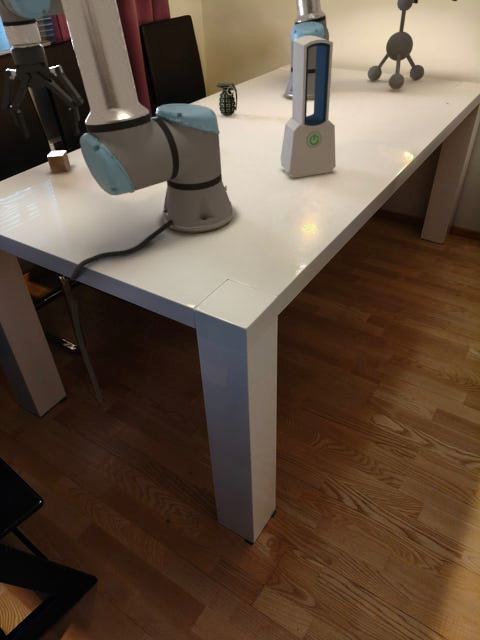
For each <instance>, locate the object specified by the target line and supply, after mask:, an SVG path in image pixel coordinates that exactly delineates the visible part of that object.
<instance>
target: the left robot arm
mask: <svg viewBox="0 0 480 640" xmlns="http://www.w3.org/2000/svg"><path fill="white" fill-rule="evenodd" d="M56 15H64V17H65V20H66V25H67V28H68V31H69V36H70V39H71V43H72V47H73V50H74V54H75V58H76V61H77V65H78V68H79V72H80V76H81V79H82V83H83V87H84V91H85V94H86V99H87V102H88V105H89V113H88V115H87V117H86V118H85V121H84V123H85V124H84V125H85V127H86V131H87V132H85V133H83V135H81V136H80V138H79V145H80V151H81V155H82V157H83V160H84V163H85V165H86V166H87V169H88V171H89V173H90V174H91V176H92V178H93V180H94V181H95V182H96V184H97V185H98V187H100V189H101V190H103V191H104V192H105V193H106V194H108V195H110V196H120V195H124V194H133V193H135V192H136V191H139V190H142V189H145V188H148V187H152V186H155V185H159V184H161V183H162V184H163V183H165V182H166V190H165V191H166V192H165V196H164V203H163V207H162V218H163V222H164V224H162V225H161V226H160V227H159V228H157V229H156V230H155V231H153V232H152V233H150V234H149V235H148V236H147V237H145V238H144V239H143V240H142V241H141V242H140V243H138V244H137V245H135V246H132V247H131V248H130V247H129V248H127V249H123V250H114V251H107V252H102V253H98V254H95V255H93V256H90V257H87V258H85V259H84V260H82V261H80V262H79V263H78V264H77V265H76V266H75V268H74V269H73V271H72V273H71V276H70V278H69V279H70V281H72V282H73V281H75V280H77V278H78V276H79V275H80V272H81V270H83V268H84V267H85V266H87V265H89V264H91V263H94V262H97V261H99V260H103V259H106V258H114V257H122V256H128V255H131V254H134V253H136V252H138V251H140V250H141V249H143V248H144V247H145V246H147V245H148V244H149V243H150V242H151V241H152V240H153V239H155V238H156V237H158V236H159V235H160V234H161V233H163V232H164V231H166V230H167V229H168V228H169V229H171V230H173V231H177V232H180V233H190V234H191V233H192V234H193V233H194V234H195V233H196V234H197V233H205V232H206V233H207V232H210V231H215V230H216V229H220V228H222V227H224V226H226V225H227V224H228V223H230V221H231V220H232V218H233V216H234V212H233V211H234V210H233V205H232V201H231V200H230V197H229V195H228V192H227V191H228V188H227V187H228V186H227V185H225V184H224V182H223V175H222V174H223V173H222V161H221V159H222V158H221V147H220V146H221V145H220V133H221V132H220V129H219V123H218V117H217V114H216V112H215V111H214V110H213V109H212V108H210V107H208V106H204V105H201V104H200V105H199V104H194V103H193V104H192V103H167V104H166V103H165V104H161V105H160V106H157V108H156V111H155V117H157V118H154V119H151V118H152V117H151V114H150V109H148V108H147V107H145V105H144V104H143V105H142V103H140V101H139V99H138V93H137V89H136V83H135V80H134V75H133V71H132V66H131V62H130V58H129V53H128V48H127V44H126V39H125V34H124V30H123V26H122V22H121V16H120V12H119V7H118V3H117V0H0V19H1V23H2V26H3V27H2V28H3V29H4V33H5V36H6V40H7V44H8V45H9V46H11V47H10V52H11V57H12V60H13V63H14V66H15V69H12V68H7V69H5V70H3V76H4V80H5V81H4V88H3V96H2V103H1V109H2V111H3V112H9V113H10V114H11V117H12V118H13V122H14V126H16V127H18V128H19V130H20V133H21V136H22V139H23V141H25V140H28V139H29V138H30V133H29V130H28V127H27V124H26V120H25V116H24V114H23V110H19V108H20V107H21V104H22V102H23V99H24V98H25V95H26V93H27V91H28V89H36V88H38V89H43V88H45V87H46V88H47V89H48V90H49V91H51V92H52V93H54V95H55V96H57V97H58V98H59V99H60V100H61V101H62V102H64V103H65V105H67V106H68V107H69V108H68V109H67V111H68V114H69V119H70V123H71V126H72V131H73V135H74V137H77V136H79V135H80V134H81V130H80V127H79V123H78V122H80V121H81V116H80V111H79V107H80V106H82V105H83V104H84V99H83V97H82V96H81V95H80V93H79V92H78V91H77V89H76V88H75V86H74V85H73V84H72V82H71V81H70V79H68V77H67V75H66V74H65V71H64V69H63V66H62V65H61V64H58V65H56V66H51V67H50V65H49V62H48V59H47V56H46V52H45V48H44V45H42V44H41V42H42V37H41V33H40V29H39V26H38V23H37V19H41V18H43V17H49V16H56ZM52 74H53V76H55V77H57V79H58V80H59V82H60V83H61V85H62V86H63V87H64V89H65V90H66V92H67V93H66V92H65V90H63V89H62V87H60V86H59V85H58V84H57V83H56V81H54V80H53V79H52V78H51V75H52ZM16 77H17V78H18V79H19V80H20V81H21V83H20V85H19V87H18V90H17V93H16V95H15V97H14V100H13V102H12V97H13V90H14V83H15V79H16ZM11 103H12V104H11ZM70 305H71V313H72V319H73V325H74V330H75V334H76V338H77V342H78V346H79V349H80V352H81V354H82V358H83V361H84V364H85V366H86V369H87V371H88V374H89V377H90V380H91V382H92V386H93V388H94V391H95V395H96V399H97V401H98V402H102V401H103V400H104V399H103V396H102V392H101V390H100V386H99V383H98V380H97V377H96V374H95V371H94V369H93V366H92V364H91V360H90V357H89V355H88V352H87V349H86V346H85V345H86V344H85V342H84V338H83V334H82V330H81V325H80V319H79V311H78V303H77V300H75V299H72V298H71V299H70Z"/></svg>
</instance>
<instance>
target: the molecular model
mask: <svg viewBox="0 0 480 640" xmlns="http://www.w3.org/2000/svg"><path fill="white" fill-rule="evenodd" d="M396 5H397V8H398V10H399V11H401V15H400V21H399V22H400V23H399V28H398V29H399V30H398V31H397V32H394V33H393V34H392V35H391V36H390V37H389V38H388V40H387V42H386V45H385V52H386V53H385V55H384V57H382V59H381V61H380V62H379V64H378V65H371V67H370V68H369V69H368V70H367V78H368V79H369V80H370V81H372V82H376V81H378V80H379V79H380V78H381V77H382V72H383V71H382V67H383V65H384V64H385V63H386V61H387V60H388V59H390V60H392V61H395V71H394V72H395V73H394V74H392V75H391V76H390V77H389V79H388V86H389V87H390V88H391V90H395V91H396V90H399V89H401V88H402V87H403V86H404V85H405V77H404V76H403V74H401V72H400V71H401V61H404V60H405V59H406V60H407V62H408V63H409V65H410V67H411V68H410V70H409V78H410V79H411V80H413V81H419V80H421V78H423V77H424V74H425V68H424V67H423V65H421V64H416V63H415V61H414V60H413V58H412V56H411V53H412V51H413V47H414V41H413V40H414V39H413V37H412V36H411V35H410V34H409V33H408V32H407V31H404V28H405V22H406V14H407V11H409V10H410V9H411V8H412V6H413V5H414V3H413V0H397V2H396Z"/></svg>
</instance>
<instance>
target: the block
mask: <svg viewBox="0 0 480 640" xmlns="http://www.w3.org/2000/svg"><path fill="white" fill-rule="evenodd" d="M46 159H47V161H48V162H47V163H48V165H49V168H50V172H51V174H64V173H68V172H69V170H70V168H71V166H72V165H71V162H70V159H69V155H68V151H67V150H51V151H50V152H49V153H48V154H47V156H46Z"/></svg>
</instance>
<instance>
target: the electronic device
mask: <svg viewBox="0 0 480 640" xmlns="http://www.w3.org/2000/svg"><path fill="white" fill-rule="evenodd" d="M314 46H317V48H316V71H315V95H314V99H313V100H314V101H313V113H312V114H310V115H307V112H308V111H307V106H308V100H307V82H308V52H309V48H311V47H314ZM333 50H334V42H333V41H330V40H329V41H328V40H325V39H323V38H320V37H317V36H311V35H309V36H303V37H300V38H298V39H296V40H294V41H293V99H291V100H292V102H291V103H292V104H291V105H292V106H291V109H292V110H291V111H292V113H291V118H289V119H288V120H287V121H286V123H285V124H284V129H283V130H284V131H283V137H282V145H281V151H280V152H281V153H280V165H281V167H282V168H283V169H284V170H285V171H286V172H287V173H288V174H289V175H290V176H291V177H292V178H294V179H295V178H301V177H307V176H313V175H314V176H315V175H319V174H326V173H332V172H333V170H334V169H335V168H336V127H335V124H334V123H333V122H332V121H330V120H329V117H330V116H329V115H330V98H331V83H332V81H331V80H332V68H333V67H332V65H333V52H334V51H333Z"/></svg>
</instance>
